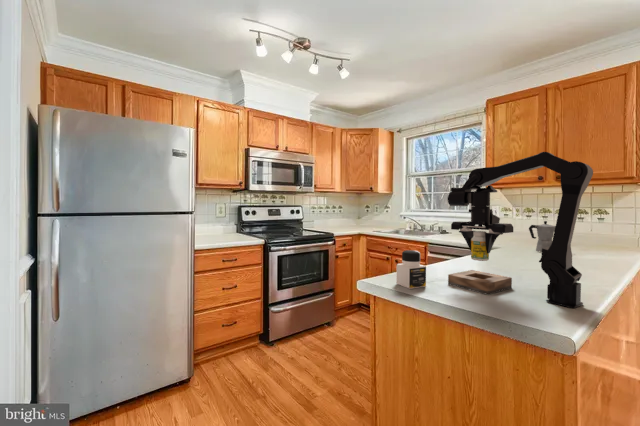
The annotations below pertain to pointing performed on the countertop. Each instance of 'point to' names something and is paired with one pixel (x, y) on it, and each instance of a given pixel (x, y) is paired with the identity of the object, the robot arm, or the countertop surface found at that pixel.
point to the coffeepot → (543, 235)
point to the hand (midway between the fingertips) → (479, 252)
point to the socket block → (480, 281)
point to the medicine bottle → (411, 270)
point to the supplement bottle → (479, 246)
